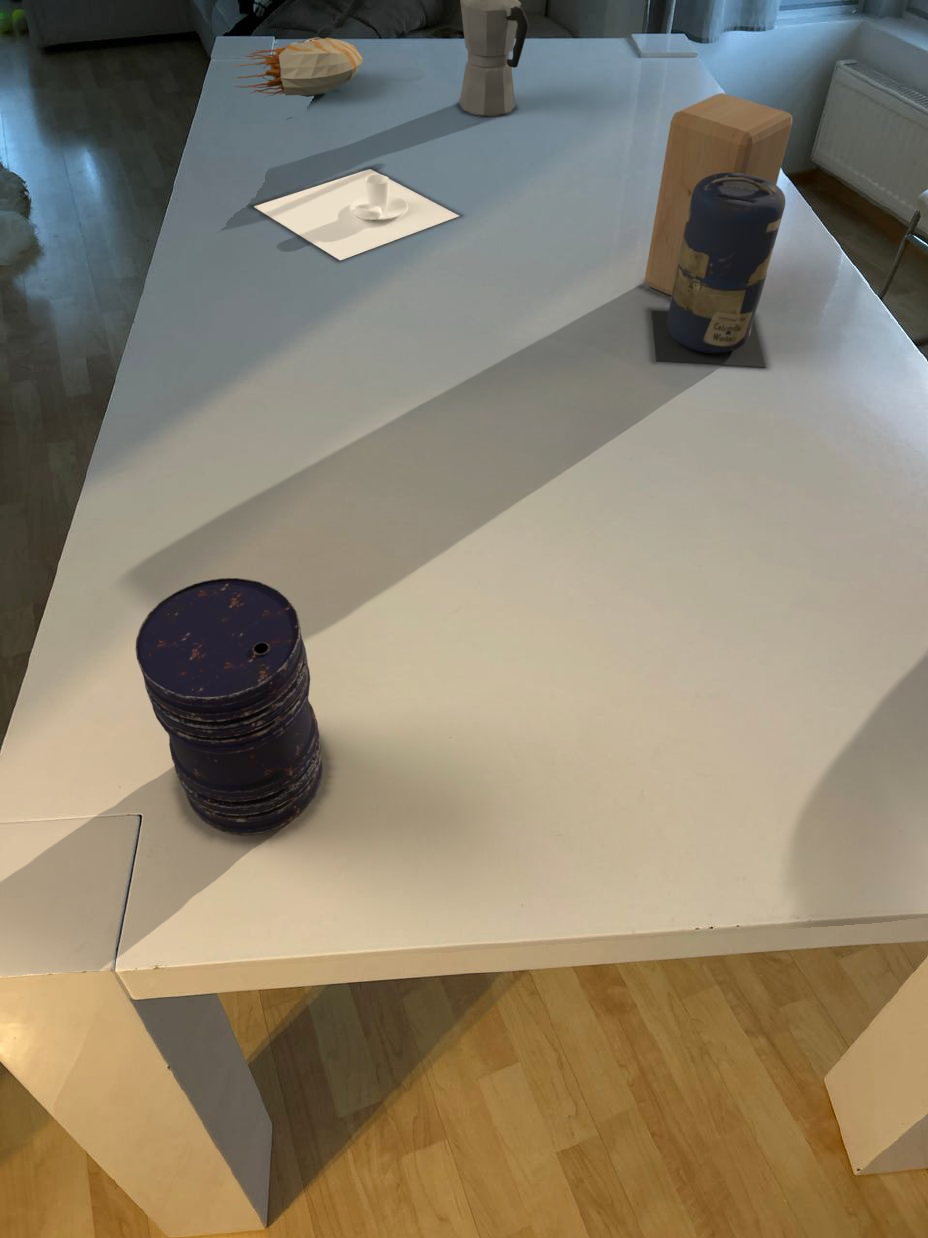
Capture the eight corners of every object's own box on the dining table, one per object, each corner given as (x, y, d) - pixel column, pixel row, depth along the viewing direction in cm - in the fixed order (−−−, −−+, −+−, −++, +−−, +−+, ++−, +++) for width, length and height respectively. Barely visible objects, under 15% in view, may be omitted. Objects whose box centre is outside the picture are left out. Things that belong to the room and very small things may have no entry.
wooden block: (640, 286, 116) (668, 111, 102) (686, 258, 121) (719, 88, 107) (709, 315, 112) (749, 136, 97) (754, 285, 117) (798, 111, 102)
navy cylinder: (155, 808, 65) (98, 669, 54) (229, 703, 72) (190, 560, 61) (283, 855, 63) (250, 721, 52) (348, 743, 69) (330, 601, 58)
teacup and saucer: (368, 230, 125) (366, 199, 122) (333, 209, 129) (330, 179, 126) (419, 211, 129) (419, 181, 126) (383, 192, 133) (382, 162, 130)
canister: (687, 307, 113) (720, 149, 100) (762, 333, 109) (806, 173, 96) (649, 341, 107) (678, 179, 94) (726, 369, 104) (767, 205, 91)
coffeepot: (440, 100, 158) (440, -28, 145) (485, 88, 162) (489, -37, 149) (498, 129, 150) (503, -3, 136) (543, 116, 154) (553, -13, 140)
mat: (765, 369, 104) (765, 367, 104) (655, 363, 105) (656, 360, 105) (752, 318, 112) (753, 315, 112) (650, 312, 112) (651, 310, 112)
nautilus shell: (234, 111, 154) (242, 84, 165) (366, 100, 155) (365, 74, 165) (223, 56, 149) (232, 32, 159) (359, 45, 149) (359, 22, 160)
